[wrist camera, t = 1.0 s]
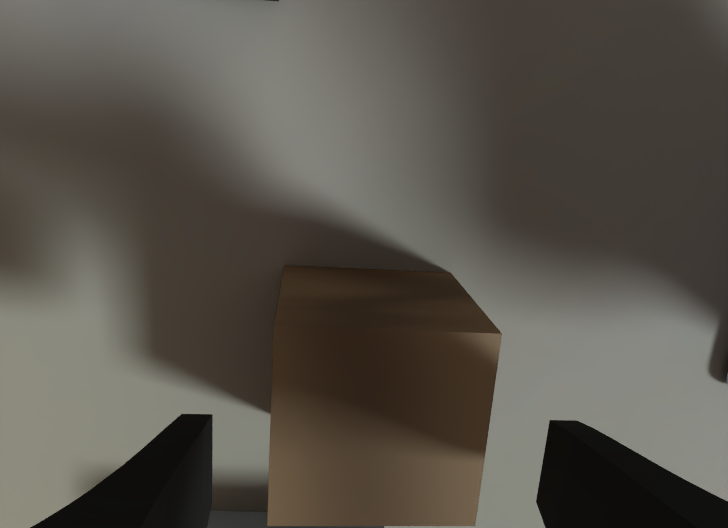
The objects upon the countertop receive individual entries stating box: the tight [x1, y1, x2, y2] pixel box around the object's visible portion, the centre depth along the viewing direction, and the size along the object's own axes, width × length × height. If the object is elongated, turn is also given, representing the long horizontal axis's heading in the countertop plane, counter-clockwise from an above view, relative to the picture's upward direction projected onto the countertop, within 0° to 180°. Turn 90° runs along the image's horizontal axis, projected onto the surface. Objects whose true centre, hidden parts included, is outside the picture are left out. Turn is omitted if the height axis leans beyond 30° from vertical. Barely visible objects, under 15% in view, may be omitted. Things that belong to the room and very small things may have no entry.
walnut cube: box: [267, 265, 502, 526], centre depth 16 cm, size 5×5×5 cm
